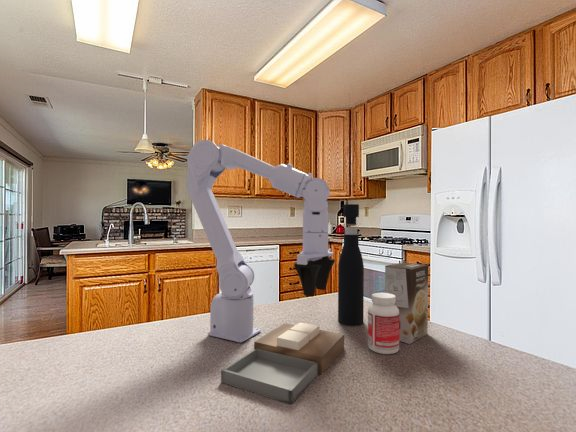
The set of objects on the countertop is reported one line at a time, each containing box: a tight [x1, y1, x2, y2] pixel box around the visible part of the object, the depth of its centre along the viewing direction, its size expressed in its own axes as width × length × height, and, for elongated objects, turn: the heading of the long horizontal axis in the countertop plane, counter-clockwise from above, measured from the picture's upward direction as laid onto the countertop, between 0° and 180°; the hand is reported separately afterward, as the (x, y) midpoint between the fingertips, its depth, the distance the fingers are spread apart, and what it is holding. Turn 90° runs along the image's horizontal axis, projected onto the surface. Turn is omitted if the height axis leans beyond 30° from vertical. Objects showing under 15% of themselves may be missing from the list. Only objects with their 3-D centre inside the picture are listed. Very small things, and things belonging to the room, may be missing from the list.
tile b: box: [277, 330, 309, 350], centre depth 62 cm, size 4×4×2 cm
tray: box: [220, 348, 319, 405], centre depth 55 cm, size 13×10×2 cm
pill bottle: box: [367, 292, 400, 355], centre depth 67 cm, size 6×6×11 cm
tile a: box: [290, 322, 320, 340], centre depth 67 cm, size 4×4×2 cm
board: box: [253, 322, 345, 375], centre depth 65 cm, size 14×12×3 cm
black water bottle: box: [337, 203, 365, 327], centre depth 84 cm, size 6×6×30 cm
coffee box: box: [384, 262, 429, 345], centre depth 75 cm, size 9×6×16 cm
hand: (315, 292), depth 74 cm, fingers open, 6 cm apart
